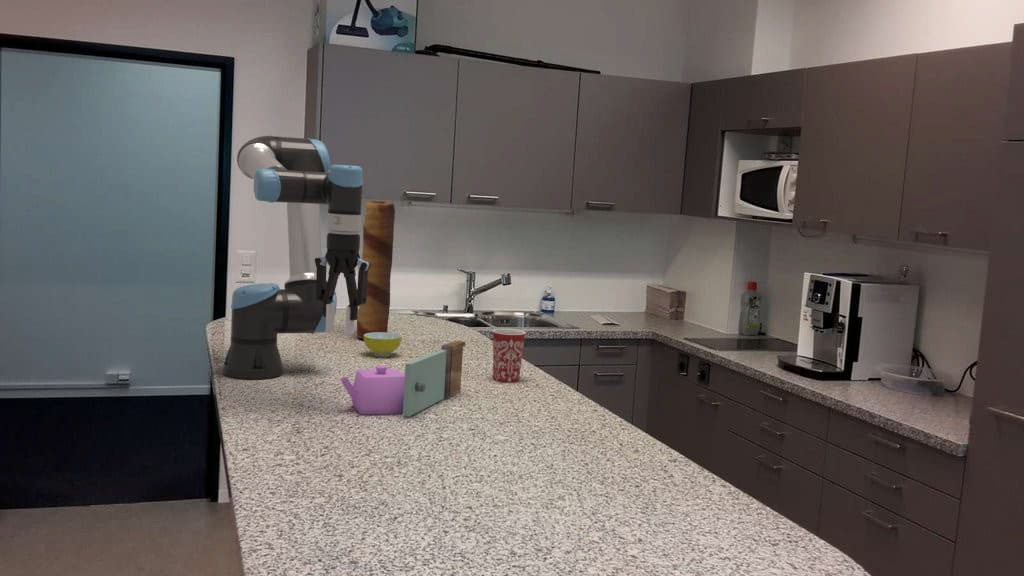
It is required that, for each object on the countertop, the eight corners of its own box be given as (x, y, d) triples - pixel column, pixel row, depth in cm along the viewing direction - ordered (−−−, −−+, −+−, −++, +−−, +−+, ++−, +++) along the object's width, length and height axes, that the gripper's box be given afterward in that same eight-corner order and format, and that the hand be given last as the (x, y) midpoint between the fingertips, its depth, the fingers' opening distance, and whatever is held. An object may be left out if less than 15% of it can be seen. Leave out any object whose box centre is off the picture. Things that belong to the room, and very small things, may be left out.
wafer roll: (395, 339, 304) (402, 202, 299) (374, 343, 296) (380, 202, 290) (371, 335, 310) (377, 200, 305) (350, 338, 301) (356, 200, 296)
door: (438, 397, 227) (440, 349, 225) (449, 399, 226) (452, 351, 224) (402, 415, 208) (405, 363, 206) (415, 417, 207) (418, 365, 205)
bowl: (355, 356, 273) (356, 335, 272) (375, 350, 284) (376, 330, 283) (388, 361, 269) (389, 340, 268) (407, 355, 280) (408, 334, 279)
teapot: (344, 417, 205) (345, 372, 204) (334, 405, 215) (336, 362, 214) (421, 414, 212) (424, 370, 211) (409, 402, 222) (411, 360, 220)
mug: (526, 383, 250) (529, 334, 249) (493, 383, 248) (496, 333, 247) (515, 373, 263) (518, 326, 261) (484, 373, 260) (487, 325, 259)
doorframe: (436, 398, 227) (439, 346, 226) (452, 390, 237) (455, 340, 235) (446, 400, 226) (449, 347, 225) (462, 392, 236) (465, 341, 234)
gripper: (301, 230, 212) (298, 330, 215) (370, 236, 206) (365, 339, 209) (318, 229, 219) (315, 326, 222) (385, 235, 213) (380, 334, 216)
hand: (339, 332), depth 215 cm, fingers open, 4 cm apart
